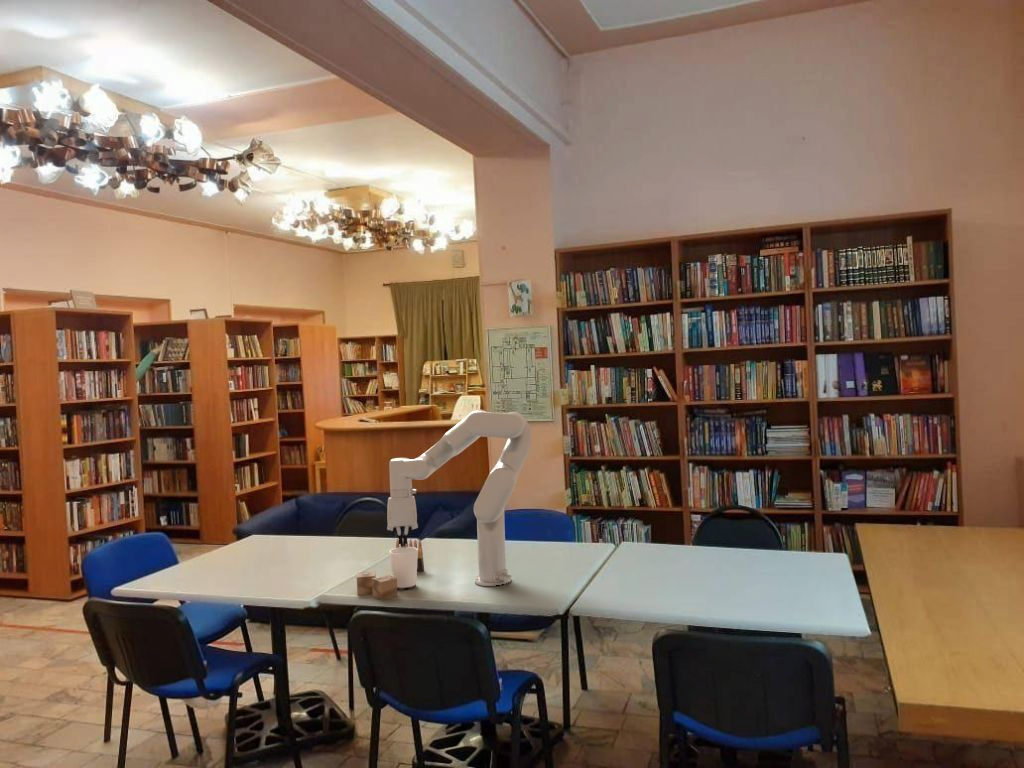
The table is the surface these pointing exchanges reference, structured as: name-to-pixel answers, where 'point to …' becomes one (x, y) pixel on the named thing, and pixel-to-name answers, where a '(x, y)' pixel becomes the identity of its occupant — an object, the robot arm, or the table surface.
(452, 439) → the robot arm
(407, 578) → the cup
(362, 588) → the walnut block one dot
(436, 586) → the table surface
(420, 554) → the ammunition clip
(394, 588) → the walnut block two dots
